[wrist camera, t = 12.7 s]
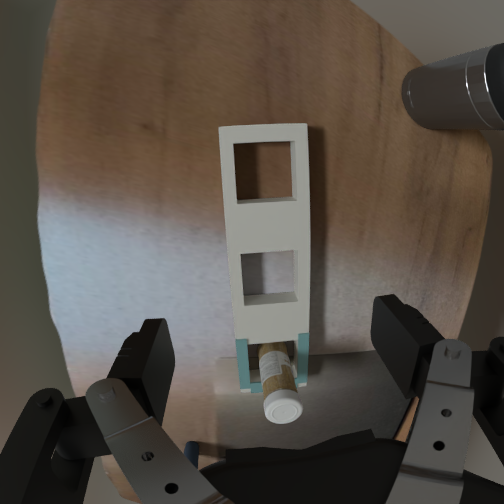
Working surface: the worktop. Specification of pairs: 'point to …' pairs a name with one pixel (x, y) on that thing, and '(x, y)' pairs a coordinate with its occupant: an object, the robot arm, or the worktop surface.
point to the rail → (269, 250)
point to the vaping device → (192, 452)
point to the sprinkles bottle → (278, 383)
